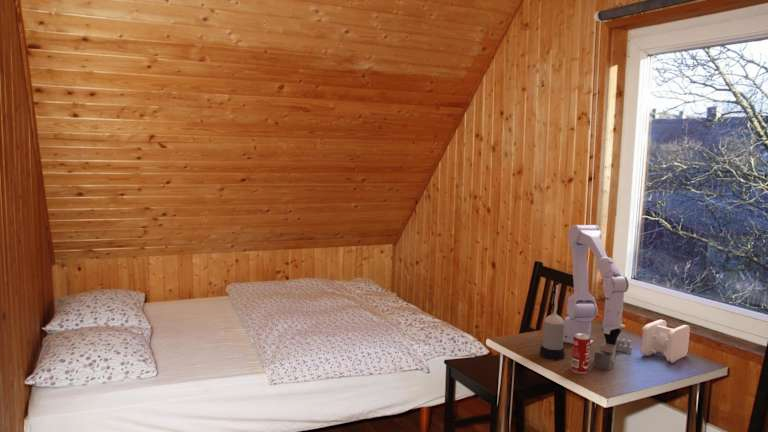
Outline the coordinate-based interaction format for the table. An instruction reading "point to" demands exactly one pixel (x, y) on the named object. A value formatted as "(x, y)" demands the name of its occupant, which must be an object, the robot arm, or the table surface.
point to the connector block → (603, 359)
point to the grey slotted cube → (609, 349)
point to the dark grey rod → (616, 346)
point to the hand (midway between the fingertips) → (610, 349)
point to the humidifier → (553, 335)
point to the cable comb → (624, 346)
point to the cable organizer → (665, 340)
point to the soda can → (580, 353)
